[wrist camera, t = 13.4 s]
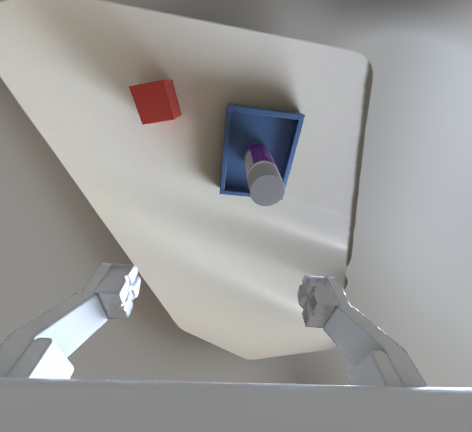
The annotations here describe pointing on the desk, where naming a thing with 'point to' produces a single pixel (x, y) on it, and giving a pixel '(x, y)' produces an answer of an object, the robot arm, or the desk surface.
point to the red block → (156, 101)
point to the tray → (257, 131)
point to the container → (263, 175)
